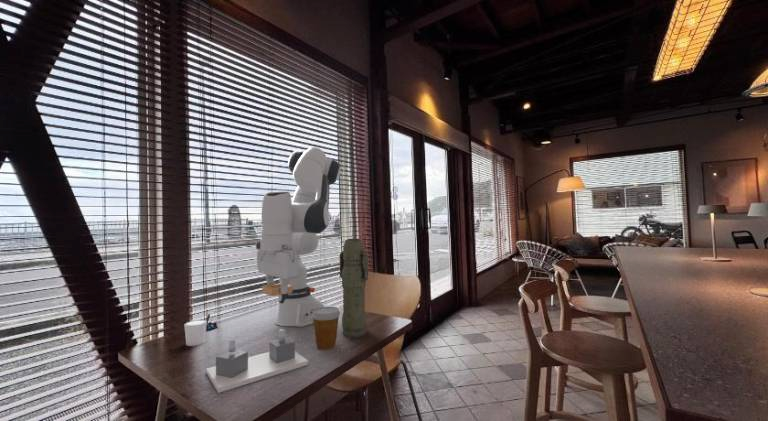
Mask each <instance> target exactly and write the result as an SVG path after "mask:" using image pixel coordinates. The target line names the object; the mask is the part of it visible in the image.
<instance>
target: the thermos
mask: <svg viewBox="0 0 768 421" xmlns="http://www.w3.org/2000/svg"><path fill="white" fill-rule="evenodd" d="M364 248H365V247H364V243H363V241H362V239H361V238H347V239H345V240H344V243H343V247H342V249H343V250H342V251H341V252H340V254H339V277H340V278H341V287H342V289H343V292H342V294H343V297H342V298H343V300H342V302H343V304H342V305H343V313H342V314H341V315H342V316H341V324H342V325H341V327H342V336H344V337H346V338H350V339H351V338H352V339H354V338H360V337H363V336H365V335H366V334H367V313H366V309H365V308H366V301H365V299H366V298H365V296H366V294H365V291H366V290H365V287H366V285H367V284H366V283H367V282H366V281H368V280H369V254H368V252H366V251H364V250H365V249H364Z"/></svg>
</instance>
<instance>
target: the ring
mask: <svg viewBox="0 0 768 421" xmlns="http://www.w3.org/2000/svg"><path fill="white" fill-rule="evenodd" d="M279 287H281V283H280V282H279V283H275V284H273V285H268V284H266V285H262V286H261V288H262V294H265V295H267V296H270V297H275V296H278V295H282V293H280V292H279ZM288 293H292V286H291V285H288V287H287V293H283V294H288Z"/></svg>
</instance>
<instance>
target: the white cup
mask: <svg viewBox="0 0 768 421" xmlns="http://www.w3.org/2000/svg"><path fill="white" fill-rule="evenodd" d="M183 325H184V327H183V328H184V334H185V345H186V346H188V347H194V346H195V347H196V346H199V345H202V344H205V342H206V332H207V330H206V325H207V321H206V319H197V320H191V321H188V322H186V323H184V324H183Z"/></svg>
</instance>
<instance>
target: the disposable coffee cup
mask: <svg viewBox="0 0 768 421" xmlns="http://www.w3.org/2000/svg"><path fill="white" fill-rule="evenodd" d="M340 315H341V312H340V309H339V308H338V307H336V306H335V307H334V306H324V307H320V308H317V309H314V310H313V313H312V315H311V316H312V318H313V330H314V336H315V344H316V348H317V349H318V350H322V351H324V350H325V351H326V350H331V349H334V348H335V347H337V346H336V344H337V336H338V328H339V317H340Z"/></svg>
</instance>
